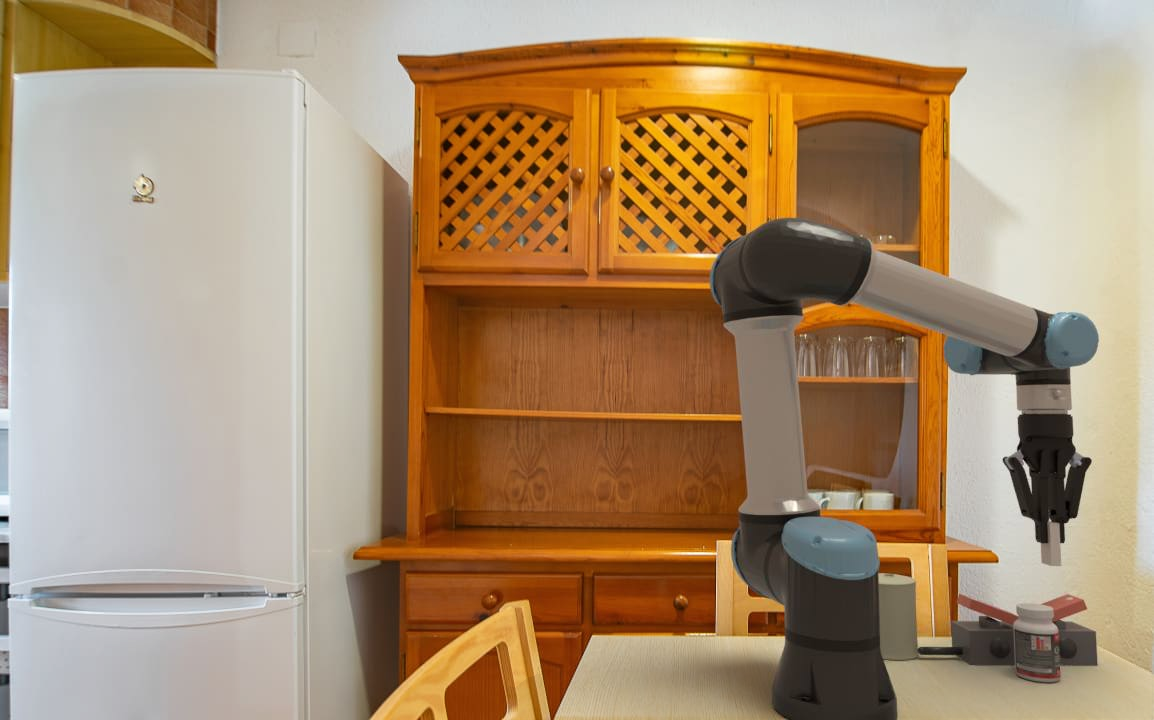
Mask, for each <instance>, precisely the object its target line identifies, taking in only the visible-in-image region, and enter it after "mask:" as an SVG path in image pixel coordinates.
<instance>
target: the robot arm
mask: <svg viewBox="0 0 1154 720" xmlns="http://www.w3.org/2000/svg"><path fill="white" fill-rule="evenodd" d="M709 288H710V292H711V294H712V297H713V299H714V301H715V302H716V303H717V304H718V306H719V307H720V308H721V311H722V322H723V327H724V329H726V330H727V331H728V332H729V333H731V334H732V335H733V337H734V342H735V352H736V353H735V354H736V365H737V366H736V367H737V376H738V392H739V404H740V416H741V428H742V440H743V451H744V452H743V453H744V466H745V477H746V487H747V488H746V489H747V496H746V499H745V500H744V501H743V502H742V503H741V505H740V506H739V507H738V523H739V527H738V529H736V531H735V532H734V534H733V537H732V540H731V544H730V545H731V547H730V554H731V556H730V557H731V560H732V565H733V568H734V570H735V571H736V573H737V575H738V577H739V578H740V579H741V581H743V583H745V584H746V585H747V586H748V588H750V589H751V590H752V591H754V592H755V593H756V594H757V595H760V596H761V597H764V598H765V599H767V600H768V599H769V600H772V601H774V602H776V603H778V604H780V605H782V606H783V607H784V646H783V650H782V651H781V652H782V653H781V656H780V659H779V662H778V667H777V669H776V672H775V676H774V678H773V683H772V686H771V695H772V696H771V702H772V707H773V709H774V710H775V711H777V713H779V714H781V715H782V716H784V717H786V718H787V719H789V720H897V719H898V699H897V695H896V692H895V688H894V687H893V683H892V680H891V677H890V675H889V672H888V669H887V666H886V663H885V659H883V657H882V654H881V650H880V615H879V569H880V565H881V564H880V563H881V562H880V558H879V552H878V544H877V539H876V536H875V535H874V534H873V532H872V531H871V530H870V529H869V528H867V527H865V526H863V525H862V524H859V523H858V522H853V521H850V520H845V519H843V520H841V519H837V518H834V517H825V516H821V509H820V508H821V507H820V504H818V503H817V502H816V501H815V500H814V499H813V498H812V497H811V496H810V495H809V493H808V483H807V481H808V480H807V473H806V472H807V471H806V460H805V459H806V458H805V448H804V446H805V445H804V437H803V435H804V434H803V424H802V414H801V413H802V412H801V411H802V410H801V400H800V391H799V379H798V378H799V377H798V375H799V374H798V368H797V367H798V366H797V355H796V353H797V352H796V344H795V343H796V342H795V341H796V339H795V330H796V328H798V326H799V325H800V324H801V323H802V322H803V321H804V311H803V300H816V301H823V302H827V303H831V304H832V305H836V306H839V307H844V306H846V305H848V304H850V303H854V304H856V305H859V306H862V307H864V308H867V309H869V310H873V311H876V312H879V313H881V314H885V315H888V316H890V317H893V318H896V319H898V320H899V319H900V320H902V321H905V322H907V323H910V324H913V325H916V326H920V327H922V328H925V329H928V330H930V331H932V332H933V331H934V332H936V333H939V334H943V335H946V338H945V339H944V343H943V358H944V361H945V364H946V365H947V366H948V368H949V370H951V371H952V372H953V373H956V374H961V375H962V374H963V375H969V376H974V375H989V376H990V375H993V376H994V375H996V376H997V375H1011V376H1014V375H1015V386H1016V410H1017V411H1018V412H1019V411H1021V414H1018V416H1017V435H1018V438H1019V442H1018V444H1017V446H1016V451H1015V452H1014V453H1012V454H1011V455H1008V456H1004V457H1003V458H1002V459H1001V460H1002V463H1003V464H1004V466H1005V467H1006V468H1007V470H1008V471H1009V474H1010V478H1011V481H1012V482H1011V483H1012V485H1013V489H1014V493H1015V496H1016V499H1017V503H1018V507H1019V510H1020V513H1021V514H1020V515H1021V516H1022V517H1024V518H1025V517H1026V518H1028V519H1029V520H1032V521H1034V532H1035V533H1034V535H1035V541H1036V542H1037V543H1040V556H1041V557H1040V558H1041V559H1040V560H1041V564H1044V565H1048V566H1050V567H1062V555H1061V554H1062V552H1061V551H1062V550H1061V544H1065V541H1066V534H1065V533H1066V532H1065V531H1066V529H1065V528H1066V527H1065V524H1067V523H1069V522H1070V520H1071V519H1076V518H1077V517H1078V514H1079V510H1080V509H1079V508H1080V504H1081V499H1082V493H1083V489H1084V483H1085V478H1086V474H1087V471H1088V469H1089V468H1090V467H1091V465H1092V461H1093V460H1092V458H1091V457H1089V456H1084V455H1082V454H1080V453H1078V452H1077V450H1076V449H1077V448H1076V446H1075V445H1074V443H1073V437H1074V419H1073V415H1072V414H1068V411H1072V410H1073V405H1072V382H1071V381H1072V380H1071V368H1075V367H1078V366H1083V365H1085V364H1087V363H1088V362H1089V361H1091V360H1092V359H1093V358H1094V357H1095V356H1096V353H1097V351H1098V347H1099V340H1100V339H1099V333H1098V329H1097V327H1096V325H1095V324H1094V322H1093V321H1092V320H1091V318H1089V317H1088V316H1087V315H1085V314H1083V313H1081V312H1075V311H1074V312H1073V311H1072V312H1066V311H1060V312H1057V313H1049V312H1046V311H1043V310H1040V309H1036V308H1034V307H1032V306H1029V305H1026V304H1023V303H1021V302H1018V301H1016V300H1015V301H1014V300H1012V299H1010V298H1006V297H1004V296H1001V295H999V294H997V293H994V292H991V291H987V290H985V289H982V288H979V287H977V286H975V285H972V284H968V283H966V282H963V281H961V280H959V279H956V278H952V277H950V276H947V275H945V274H942V273H939V272H936V271H934V270H930V269H928V268H925V267H922V266H921V265H917V264H915V263H911V262H910V261H906V260H904V259H901V258H898V257H895V256H894V255H890V254H888V253H885V252H882V251H880V250H877V249H875V247H874V245H873V243H872V241H871V240H870V239H869V238H866V237H864V236H861V235H860V234H859V235H858V234H856V233H854V232H850V231H848V230H845V229H843V228H839V227H835V226H832V225H829V224H826V223H823V222H818V221H815V220H812V219H806V218H802V217H801V218H800V217H779V218H775V219H772V220H768V221H766V222H764V223H763V224H760V225H759V226H758V227H756V228H755V229H753V230H752V231H750V232H748V233H746V234H745V235H742V236H738V237H736V238H735V239H733V240H732V241H731V242H729V243H728V244H727V245H726V246H724V248H723V249H722V250H721V251H720V252H719V253H718V255H717V256H716V257H715V259H714V261H713V263H712V265H711V268H710V273H709ZM1068 464H1069V465H1070V466H1069V469H1068V471H1067V472H1066V468H1067V466H1068ZM1024 465H1027V467H1028V474H1029V477H1030V480H1031V481H1030V482H1031V483H1029V479H1028V476H1027V472H1026V470H1025V468H1024ZM1066 474H1067V475H1066ZM1065 479H1066V481H1065ZM1030 484H1031V485H1030ZM1030 486H1031V487H1030Z"/></svg>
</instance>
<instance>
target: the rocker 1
mask: <svg viewBox="0 0 1154 720" xmlns="http://www.w3.org/2000/svg"><path fill="white" fill-rule="evenodd" d="M956 604H957V605H960V606H962V607H965V608H966V609H969V610H972V611H974V612H976V613H979V614H981V615H983V616H989V617H991V618H993V619H995V620H997V621H1003V622H1006V623H1009V624H1011V625H1013V624H1014V622H1015V621H1016V620H1017V619H1019V615H1018V614H1017V615H1016V614H1015V613H1013V612H1010V611H1008V610H1006V609H1002V608H999V607H997V606H994V605H991V604H988V603H986V602H983V601H980V600H977V599H975V598H972V597H971V596H968V595H964V594H962V593H959V594H958V596H957V600H956Z"/></svg>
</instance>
